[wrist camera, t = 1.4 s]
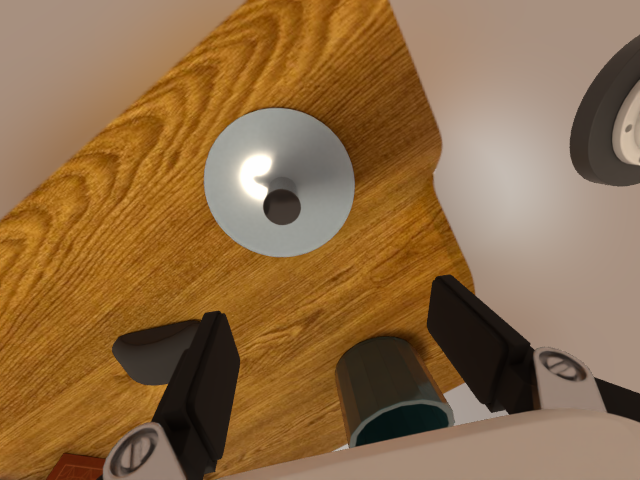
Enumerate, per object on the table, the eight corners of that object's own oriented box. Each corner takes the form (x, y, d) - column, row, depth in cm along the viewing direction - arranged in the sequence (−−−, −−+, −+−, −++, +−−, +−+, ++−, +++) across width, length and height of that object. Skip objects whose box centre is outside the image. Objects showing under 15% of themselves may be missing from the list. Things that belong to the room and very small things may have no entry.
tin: (408, 323, 36) (447, 385, 27) (423, 377, 42) (459, 442, 33) (323, 356, 36) (334, 426, 28) (349, 405, 42) (366, 476, 33)
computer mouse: (219, 351, 33) (212, 379, 29) (136, 371, 33) (117, 401, 29) (202, 317, 30) (191, 342, 27) (111, 337, 30) (87, 366, 26)
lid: (324, 82, 22) (339, 64, 16) (367, 223, 28) (390, 249, 22) (175, 145, 22) (134, 151, 16) (251, 270, 29) (242, 308, 23)
